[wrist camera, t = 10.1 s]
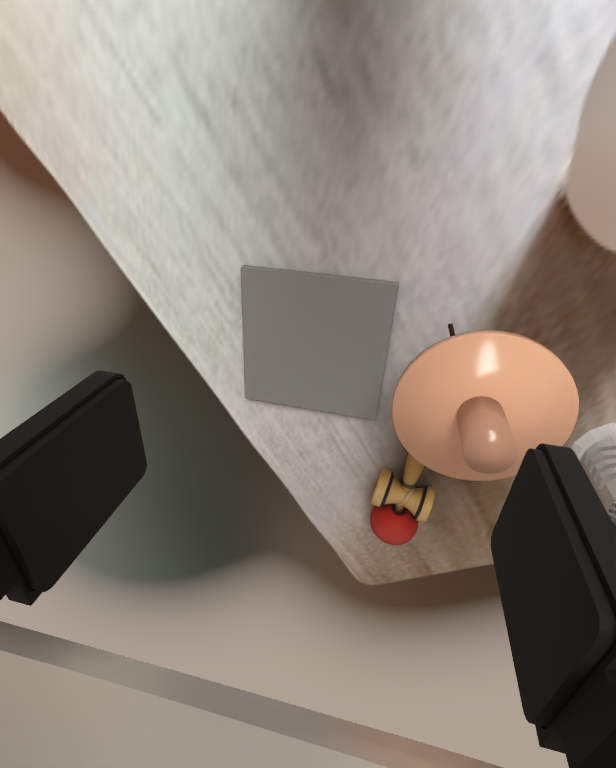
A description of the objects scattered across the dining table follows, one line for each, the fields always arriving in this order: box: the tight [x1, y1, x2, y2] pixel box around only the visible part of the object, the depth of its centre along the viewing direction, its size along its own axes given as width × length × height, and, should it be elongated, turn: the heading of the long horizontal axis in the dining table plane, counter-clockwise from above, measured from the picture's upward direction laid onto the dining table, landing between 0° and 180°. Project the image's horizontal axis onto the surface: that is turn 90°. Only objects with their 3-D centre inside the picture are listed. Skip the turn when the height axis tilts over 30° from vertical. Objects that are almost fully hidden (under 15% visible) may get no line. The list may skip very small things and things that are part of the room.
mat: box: [241, 265, 399, 420], centre depth 45 cm, size 16×16×1 cm
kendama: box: [370, 452, 436, 545], centre depth 50 cm, size 8×6×18 cm
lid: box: [392, 330, 579, 481], centre depth 31 cm, size 14×14×6 cm
